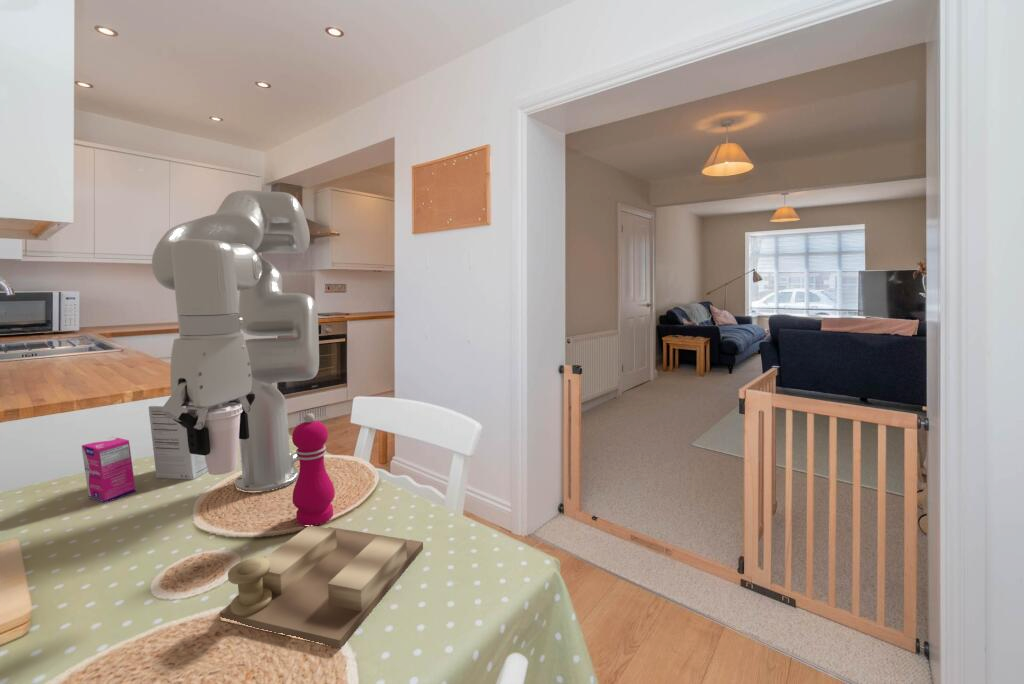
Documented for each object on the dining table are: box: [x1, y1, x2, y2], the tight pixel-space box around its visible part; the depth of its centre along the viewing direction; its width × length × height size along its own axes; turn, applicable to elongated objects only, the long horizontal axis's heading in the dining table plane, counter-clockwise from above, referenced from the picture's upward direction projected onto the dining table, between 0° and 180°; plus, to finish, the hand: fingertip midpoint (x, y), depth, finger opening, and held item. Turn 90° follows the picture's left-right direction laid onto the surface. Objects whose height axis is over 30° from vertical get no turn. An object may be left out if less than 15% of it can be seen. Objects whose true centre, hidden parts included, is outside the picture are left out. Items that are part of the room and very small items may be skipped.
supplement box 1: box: [81, 436, 136, 503], centre depth 96 cm, size 6×6×12 cm
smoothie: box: [194, 402, 243, 476], centre depth 70 cm, size 6×6×14 cm
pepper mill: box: [291, 413, 336, 526], centre depth 86 cm, size 7×7×20 cm
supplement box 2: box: [148, 399, 208, 481], centre depth 108 cm, size 10×9×17 cm
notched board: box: [219, 525, 424, 650], centre depth 68 cm, size 22×18×6 cm
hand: (220, 444), depth 70 cm, fingers closed on smoothie, 6 cm apart
